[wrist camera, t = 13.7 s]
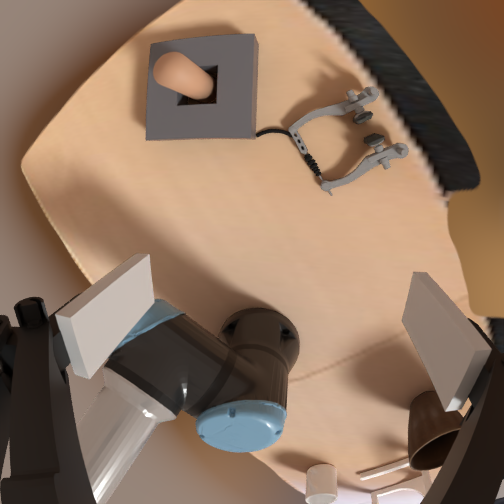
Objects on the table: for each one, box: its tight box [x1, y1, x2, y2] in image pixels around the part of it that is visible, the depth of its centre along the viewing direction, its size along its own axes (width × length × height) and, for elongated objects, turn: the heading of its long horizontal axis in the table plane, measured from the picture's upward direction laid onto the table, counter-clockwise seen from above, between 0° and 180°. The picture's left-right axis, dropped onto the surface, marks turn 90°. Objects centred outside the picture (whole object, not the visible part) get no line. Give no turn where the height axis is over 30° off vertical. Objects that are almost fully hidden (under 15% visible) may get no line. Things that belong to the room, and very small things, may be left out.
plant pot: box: [408, 391, 463, 471], centre depth 49 cm, size 15×15×16 cm
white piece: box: [360, 458, 432, 504], centre depth 59 cm, size 20×20×20 cm
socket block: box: [146, 34, 259, 141], centre depth 41 cm, size 16×16×5 cm
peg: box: [153, 52, 217, 103], centre depth 36 cm, size 4×4×15 cm
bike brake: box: [256, 87, 409, 196], centre depth 41 cm, size 14×7×20 cm
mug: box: [305, 464, 337, 504], centre depth 64 cm, size 9×12×11 cm
